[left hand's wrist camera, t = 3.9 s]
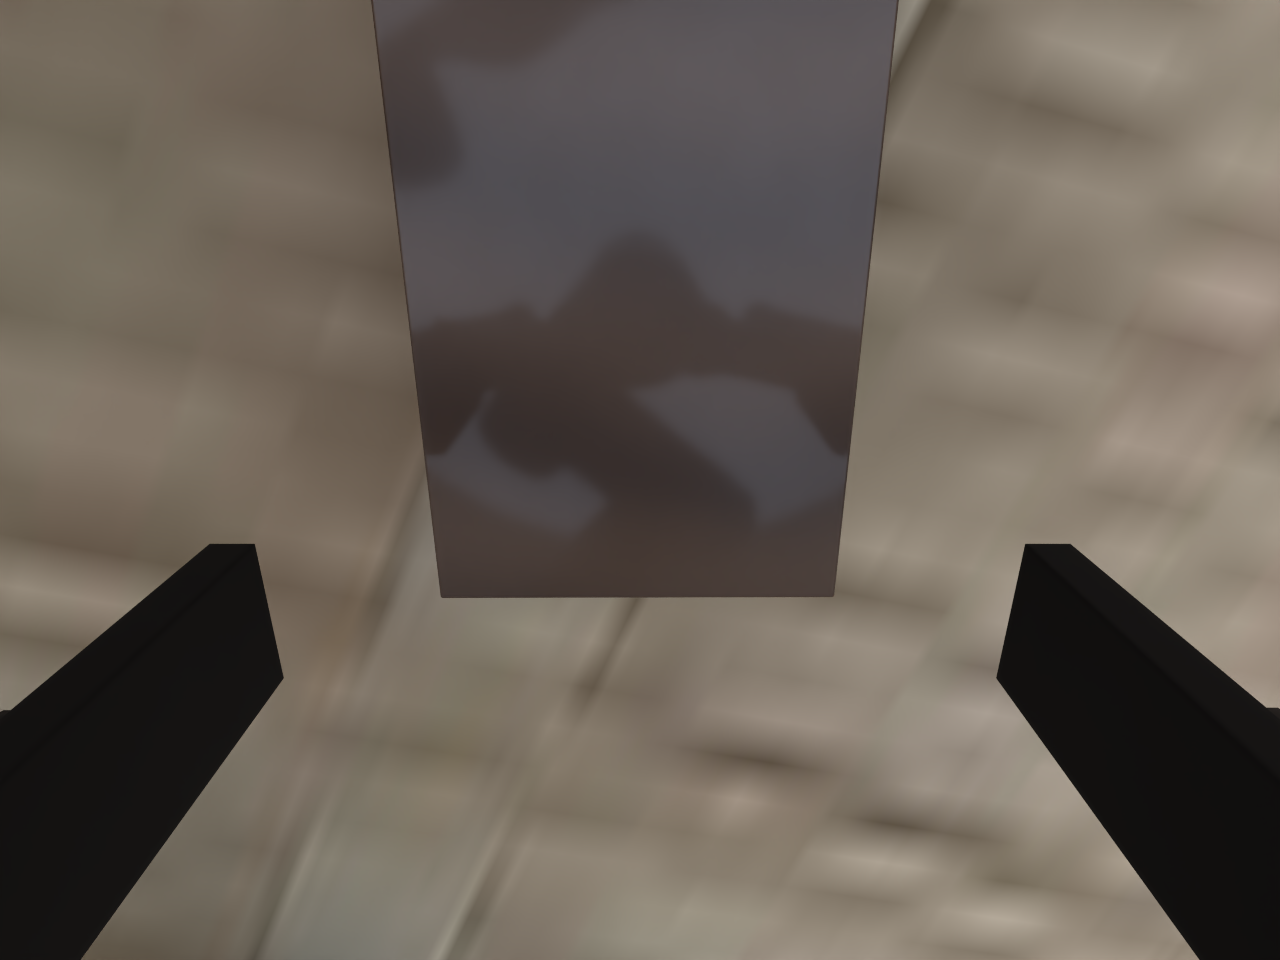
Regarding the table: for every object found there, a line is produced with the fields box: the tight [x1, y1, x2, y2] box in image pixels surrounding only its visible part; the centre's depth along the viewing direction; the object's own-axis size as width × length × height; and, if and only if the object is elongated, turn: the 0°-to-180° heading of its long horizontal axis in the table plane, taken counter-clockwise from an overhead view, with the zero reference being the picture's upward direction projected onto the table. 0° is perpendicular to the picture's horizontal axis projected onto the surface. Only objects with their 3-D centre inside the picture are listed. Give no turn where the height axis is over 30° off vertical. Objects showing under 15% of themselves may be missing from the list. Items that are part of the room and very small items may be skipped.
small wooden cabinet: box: [371, 0, 899, 598], centre depth 21 cm, size 20×10×12 cm, turn 0°
